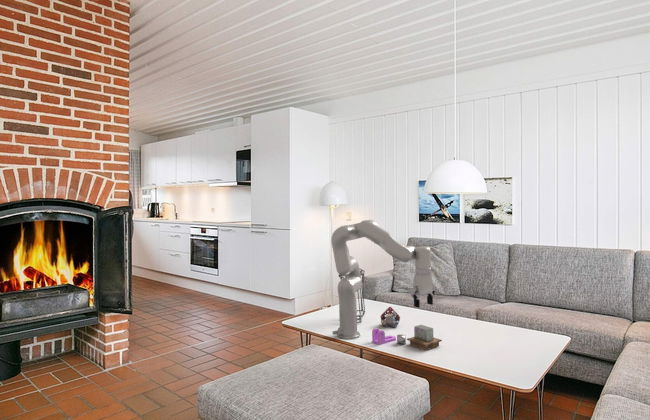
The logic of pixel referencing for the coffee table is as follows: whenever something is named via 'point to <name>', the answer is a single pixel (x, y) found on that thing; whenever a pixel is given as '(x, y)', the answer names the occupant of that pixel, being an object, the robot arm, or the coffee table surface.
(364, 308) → the geometric lantern
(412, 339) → the stand
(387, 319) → the brake caliper
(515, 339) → the coffee table surface
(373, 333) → the bracket
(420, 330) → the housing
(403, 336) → the knob
